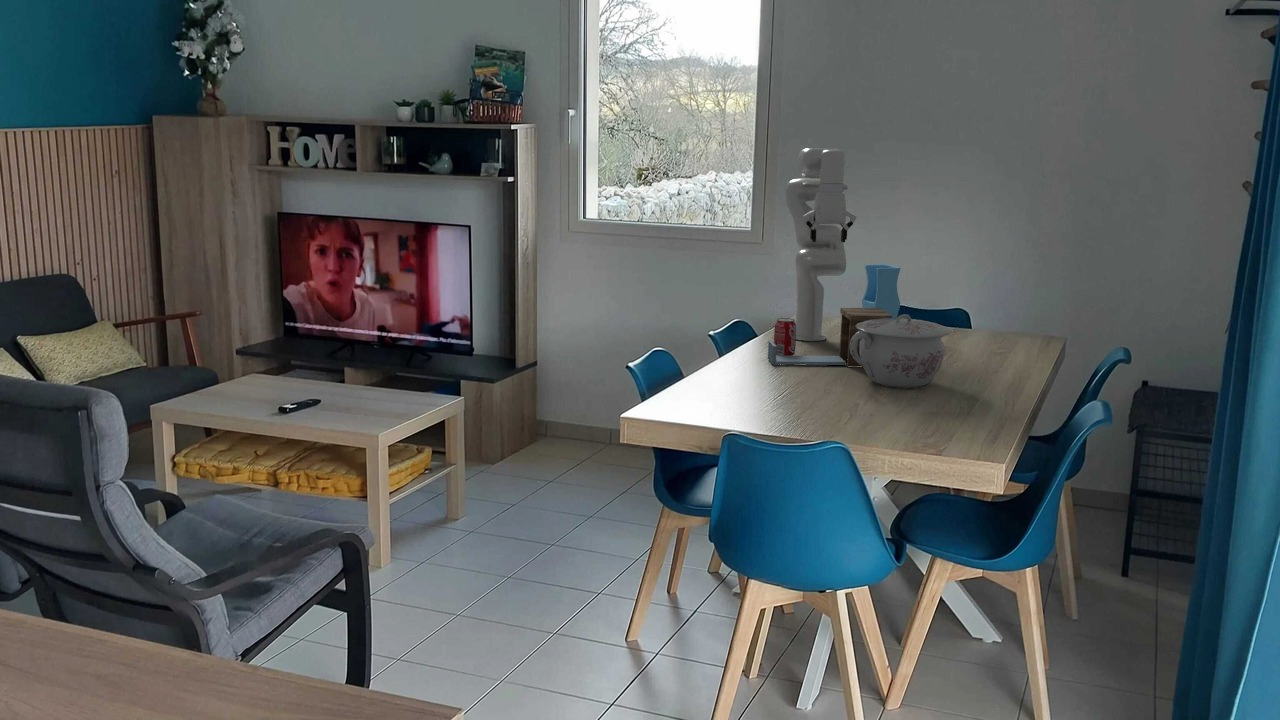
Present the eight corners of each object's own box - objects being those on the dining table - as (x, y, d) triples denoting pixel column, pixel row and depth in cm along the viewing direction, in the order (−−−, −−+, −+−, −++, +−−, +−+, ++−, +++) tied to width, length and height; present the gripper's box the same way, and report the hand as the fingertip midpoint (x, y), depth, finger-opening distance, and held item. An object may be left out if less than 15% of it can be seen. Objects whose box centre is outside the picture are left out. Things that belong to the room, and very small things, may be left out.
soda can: (794, 353, 376) (796, 317, 374) (795, 358, 369) (797, 321, 367) (773, 353, 377) (774, 317, 374) (773, 357, 370) (775, 320, 367)
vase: (859, 333, 414) (864, 264, 409) (884, 332, 417) (888, 264, 411) (873, 338, 405) (877, 268, 399) (897, 337, 408) (902, 267, 402)
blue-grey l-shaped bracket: (767, 359, 366) (768, 340, 365) (838, 359, 368) (839, 341, 366) (772, 365, 357) (773, 346, 356) (845, 365, 359) (846, 346, 358)
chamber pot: (947, 377, 347) (953, 309, 343) (946, 397, 321) (952, 325, 317) (854, 369, 354) (858, 303, 350) (845, 389, 328) (849, 318, 324)
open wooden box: (837, 358, 370) (840, 307, 367) (877, 358, 371) (880, 308, 367) (847, 367, 356) (851, 315, 353) (888, 368, 357) (892, 315, 354)
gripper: (854, 188, 373) (851, 240, 376) (802, 187, 371) (799, 240, 375) (860, 189, 365) (857, 243, 369) (807, 189, 364) (804, 242, 368)
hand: (828, 241), depth 372 cm, fingers open, 9 cm apart
